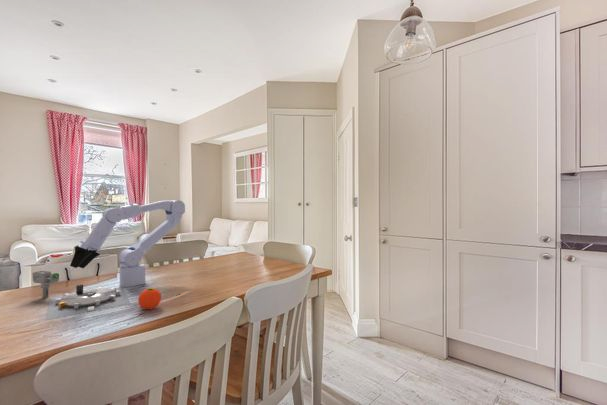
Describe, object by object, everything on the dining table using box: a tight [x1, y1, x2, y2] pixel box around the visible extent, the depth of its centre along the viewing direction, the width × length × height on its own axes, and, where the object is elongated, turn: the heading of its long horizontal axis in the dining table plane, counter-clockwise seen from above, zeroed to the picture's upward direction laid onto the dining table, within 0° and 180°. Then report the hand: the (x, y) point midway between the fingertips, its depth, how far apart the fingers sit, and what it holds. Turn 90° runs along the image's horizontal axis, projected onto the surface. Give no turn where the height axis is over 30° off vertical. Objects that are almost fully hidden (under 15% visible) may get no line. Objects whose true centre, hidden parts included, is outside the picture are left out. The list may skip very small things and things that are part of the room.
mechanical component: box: [31, 270, 60, 298], centre depth 103 cm, size 3×10×10 cm, turn 79°
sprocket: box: [55, 283, 120, 309], centre depth 101 cm, size 18×19×4 cm
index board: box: [44, 286, 131, 321], centre depth 100 cm, size 22×24×2 cm
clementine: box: [138, 287, 162, 310], centre depth 96 cm, size 8×7×7 cm
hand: (76, 267), depth 107 cm, fingers open, 7 cm apart
